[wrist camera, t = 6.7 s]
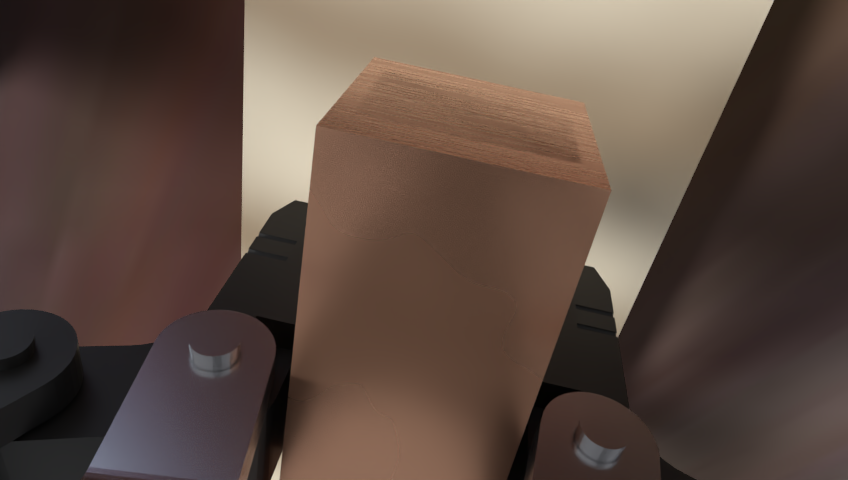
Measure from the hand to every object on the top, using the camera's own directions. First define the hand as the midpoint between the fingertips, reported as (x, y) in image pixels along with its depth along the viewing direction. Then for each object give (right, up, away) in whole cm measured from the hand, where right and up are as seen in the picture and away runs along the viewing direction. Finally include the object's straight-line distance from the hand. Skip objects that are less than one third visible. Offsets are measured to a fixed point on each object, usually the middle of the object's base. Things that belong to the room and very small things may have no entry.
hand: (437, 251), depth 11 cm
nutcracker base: (0, 0, +7) cm, 7 cm away
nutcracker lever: (-1, -4, +2) cm, 5 cm away
